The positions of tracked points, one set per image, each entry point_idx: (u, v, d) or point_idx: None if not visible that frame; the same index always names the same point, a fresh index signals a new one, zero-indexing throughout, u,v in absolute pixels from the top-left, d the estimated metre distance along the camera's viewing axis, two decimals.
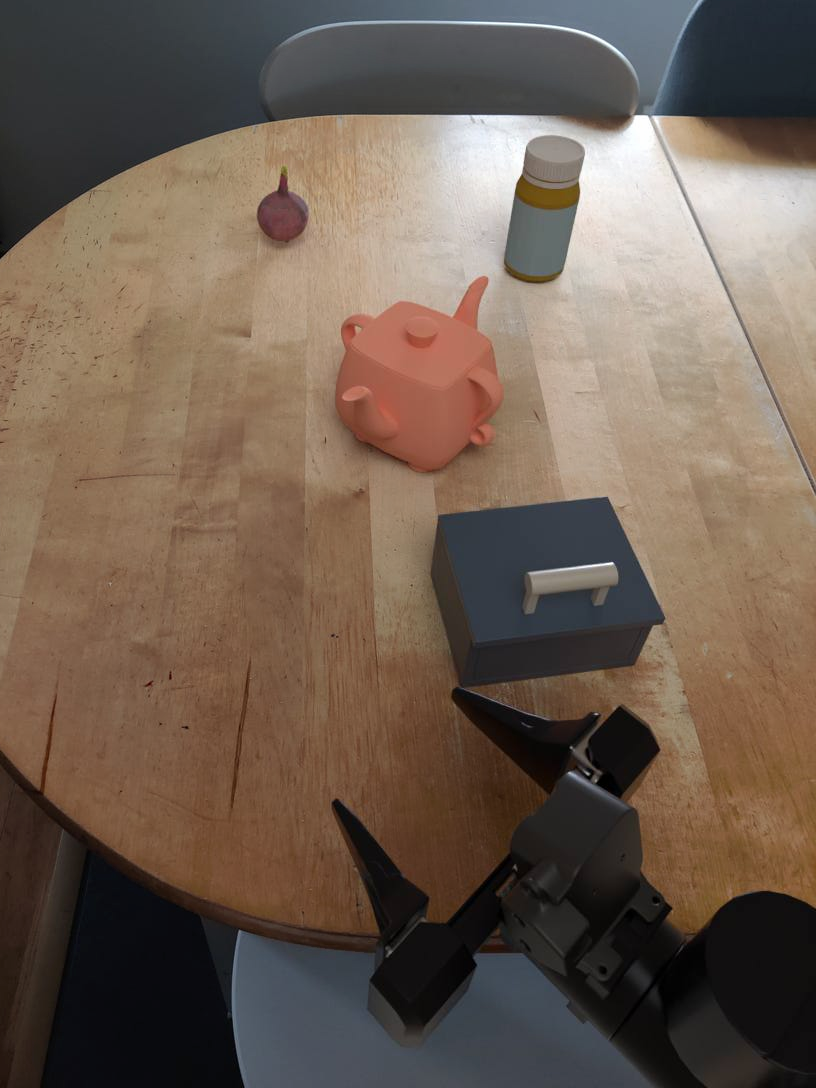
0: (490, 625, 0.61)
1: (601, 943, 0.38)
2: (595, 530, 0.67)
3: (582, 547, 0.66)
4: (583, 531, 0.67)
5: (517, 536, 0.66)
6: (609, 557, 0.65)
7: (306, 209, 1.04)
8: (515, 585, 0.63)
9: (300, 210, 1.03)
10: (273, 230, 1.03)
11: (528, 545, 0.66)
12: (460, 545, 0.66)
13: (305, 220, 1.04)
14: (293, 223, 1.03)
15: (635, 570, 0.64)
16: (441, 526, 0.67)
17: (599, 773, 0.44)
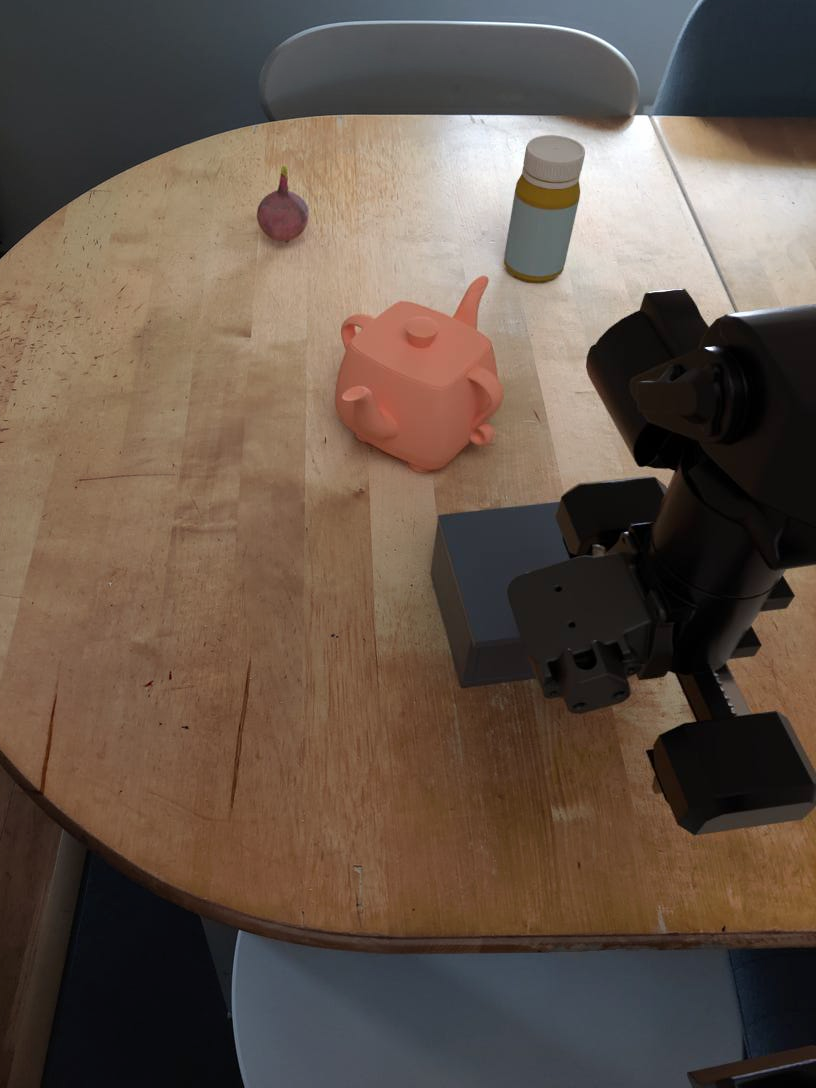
0: (490, 625, 0.61)
1: (645, 605, 0.40)
2: None
3: None
4: None
5: (517, 536, 0.66)
6: None
7: (306, 209, 1.04)
8: None
9: (300, 210, 1.03)
10: (273, 230, 1.03)
11: (528, 545, 0.66)
12: (460, 545, 0.66)
13: (305, 220, 1.04)
14: (293, 223, 1.03)
15: None
16: (441, 526, 0.67)
17: (595, 546, 0.48)
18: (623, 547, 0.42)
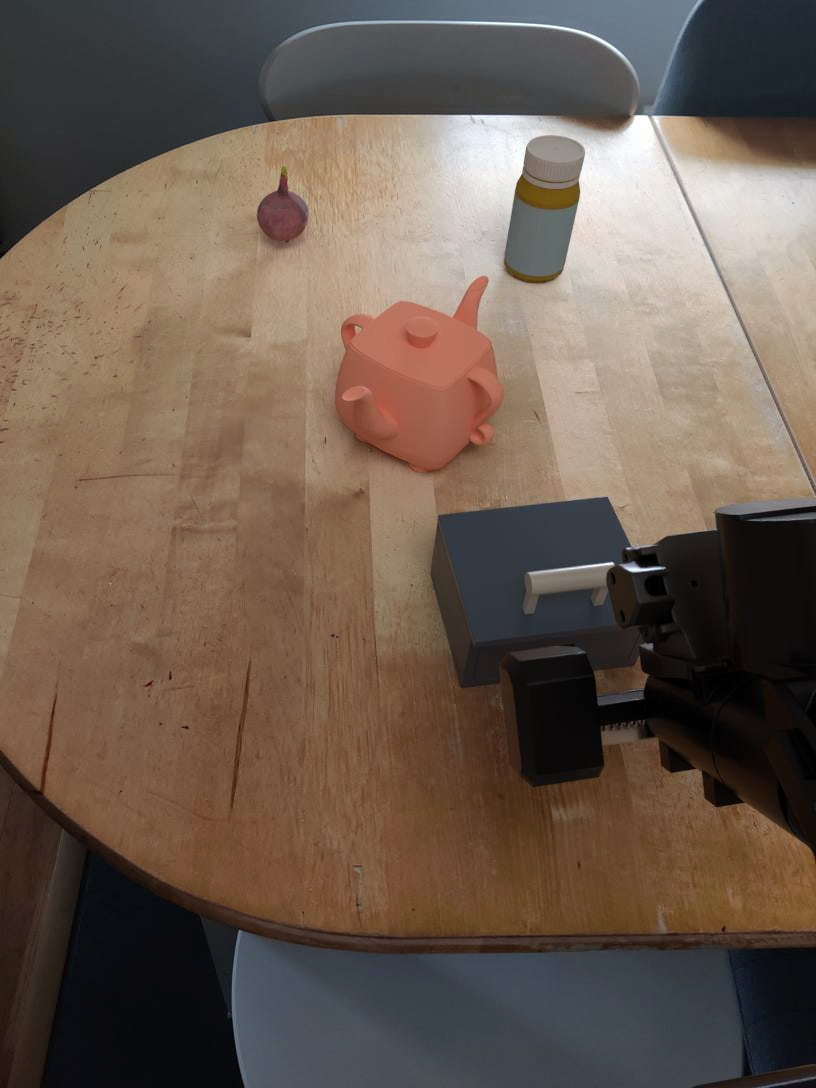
0: (490, 625, 0.61)
1: (711, 658, 0.39)
2: (595, 530, 0.67)
3: (582, 547, 0.66)
4: (583, 531, 0.67)
5: (517, 536, 0.66)
6: (609, 557, 0.65)
7: (306, 209, 1.04)
8: (515, 585, 0.63)
9: (300, 210, 1.03)
10: (273, 230, 1.03)
11: (528, 545, 0.66)
12: (460, 545, 0.66)
13: (305, 220, 1.04)
14: (293, 223, 1.03)
15: None
16: (441, 526, 0.67)
17: None
18: None
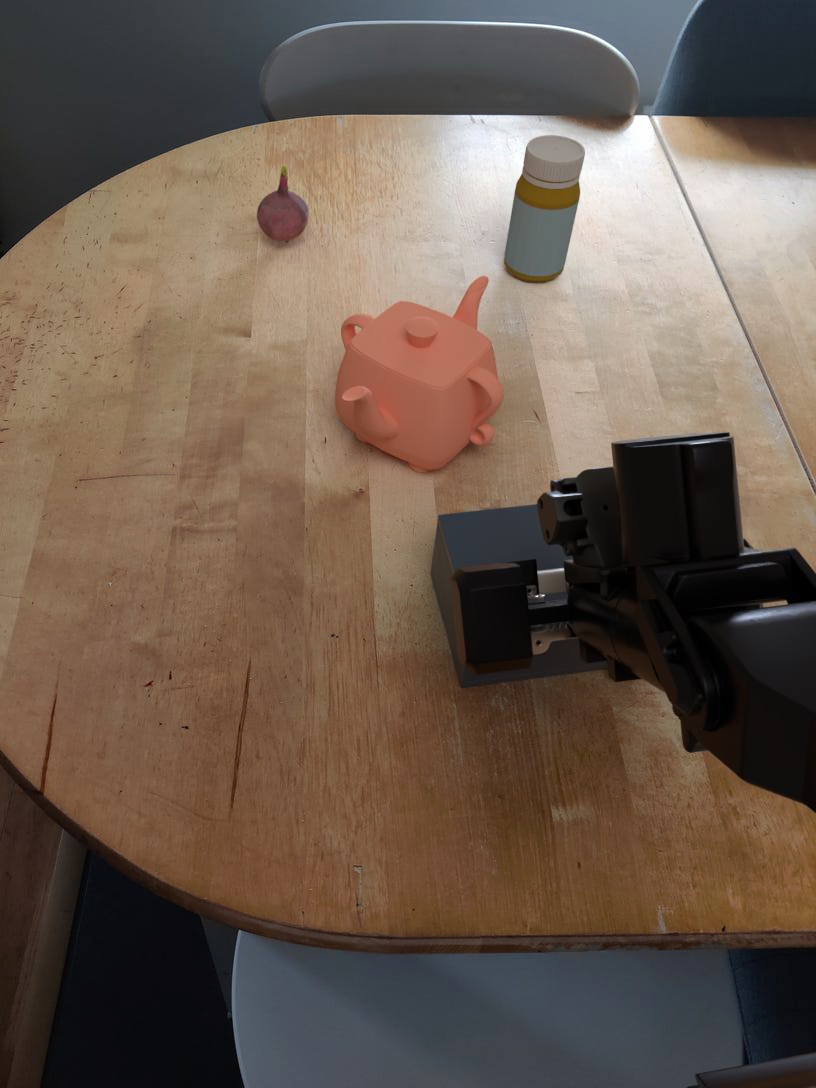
0: None
1: (616, 566, 0.49)
2: None
3: None
4: None
5: (517, 536, 0.66)
6: None
7: (306, 209, 1.04)
8: None
9: (300, 210, 1.03)
10: (273, 230, 1.03)
11: (528, 545, 0.66)
12: (460, 545, 0.66)
13: (305, 220, 1.04)
14: (293, 223, 1.03)
15: None
16: (441, 526, 0.67)
17: None
18: None
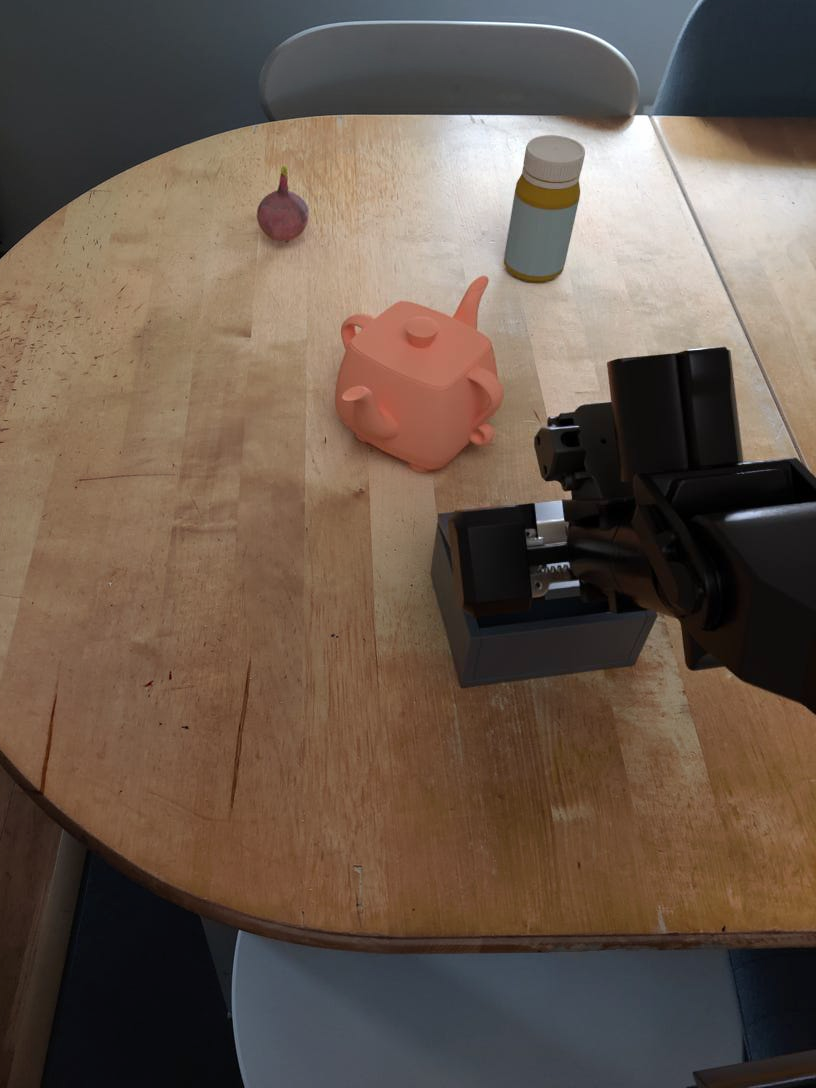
0: None
1: (615, 498, 0.48)
2: None
3: None
4: None
5: None
6: None
7: (306, 209, 1.04)
8: None
9: (300, 210, 1.03)
10: (273, 230, 1.03)
11: None
12: None
13: (305, 220, 1.04)
14: (293, 223, 1.03)
15: None
16: (441, 521, 0.67)
17: None
18: None
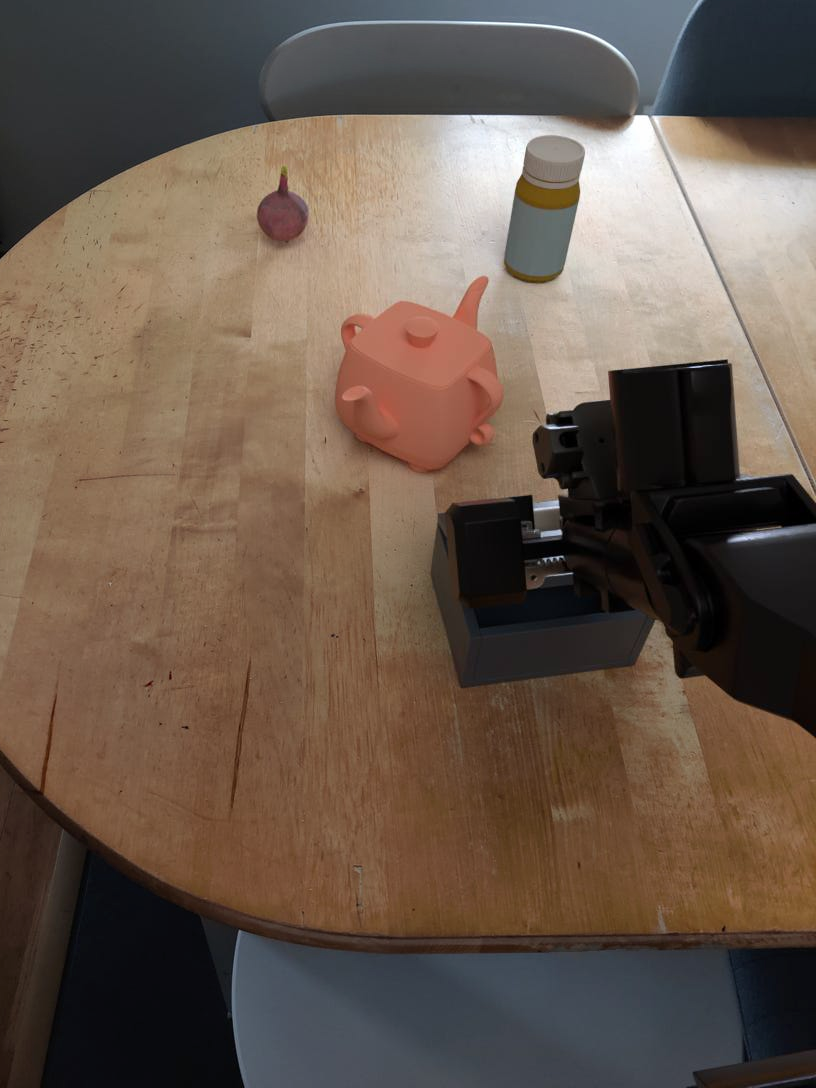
0: None
1: (611, 498, 0.49)
2: None
3: None
4: None
5: None
6: None
7: (306, 209, 1.04)
8: None
9: (300, 210, 1.03)
10: (273, 230, 1.03)
11: None
12: None
13: (305, 220, 1.04)
14: (293, 223, 1.03)
15: None
16: (441, 520, 0.67)
17: None
18: None
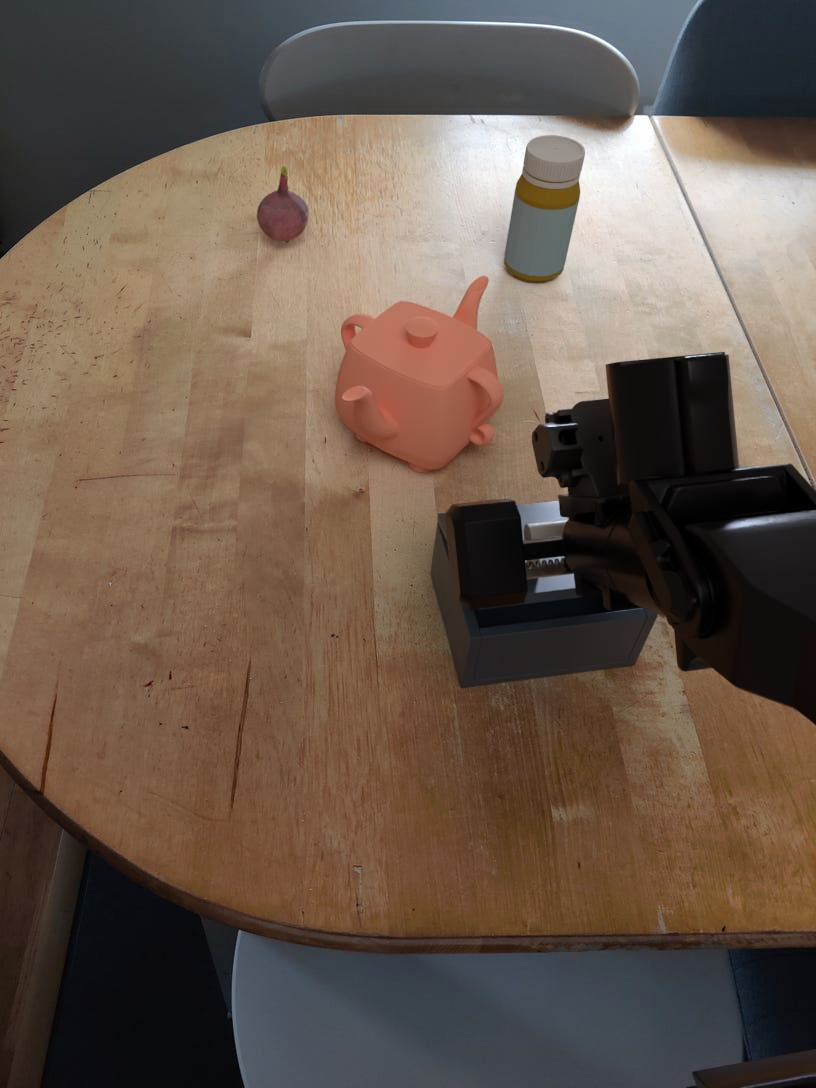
0: None
1: (611, 495, 0.49)
2: None
3: None
4: None
5: None
6: None
7: (306, 209, 1.04)
8: None
9: (300, 210, 1.03)
10: (273, 230, 1.03)
11: None
12: None
13: (305, 220, 1.04)
14: (293, 223, 1.03)
15: None
16: (441, 521, 0.67)
17: None
18: None
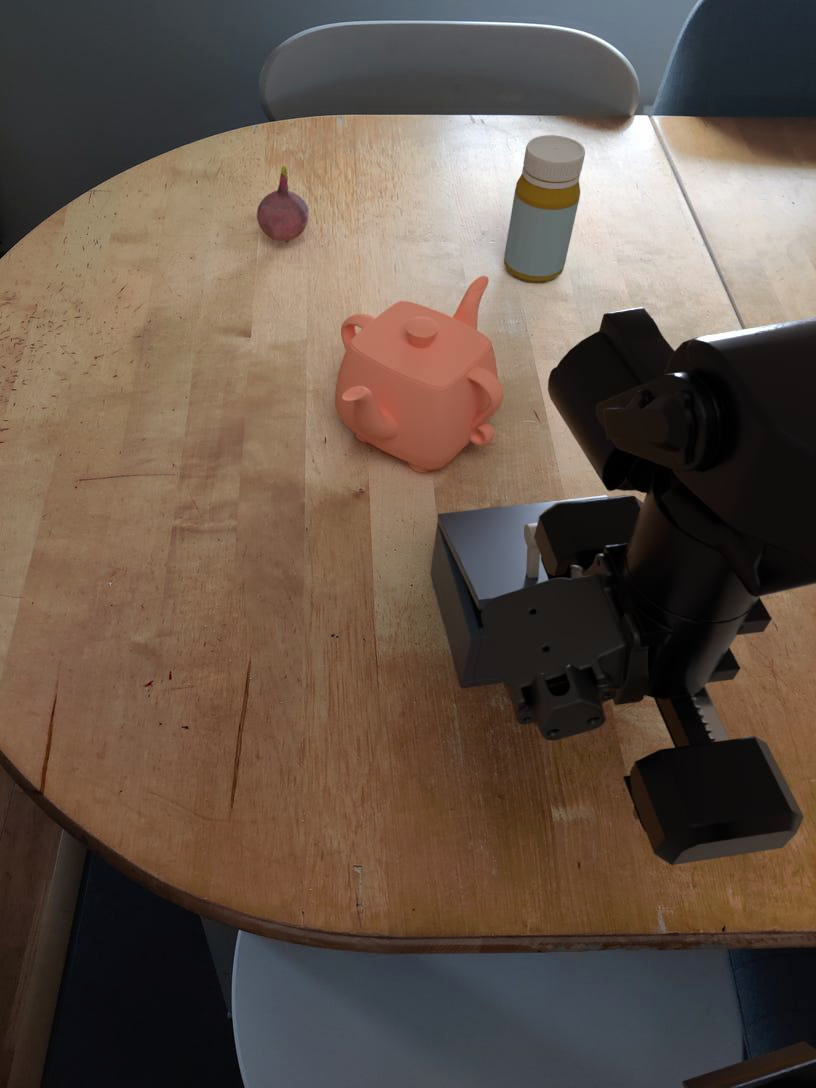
0: (494, 587, 0.59)
1: (620, 628, 0.39)
2: None
3: None
4: None
5: (518, 525, 0.66)
6: None
7: (306, 209, 1.04)
8: (518, 558, 0.62)
9: (300, 210, 1.03)
10: (273, 230, 1.03)
11: None
12: (460, 533, 0.65)
13: (305, 220, 1.04)
14: (293, 223, 1.03)
15: None
16: (441, 521, 0.67)
17: (573, 566, 0.47)
18: (598, 569, 0.41)
